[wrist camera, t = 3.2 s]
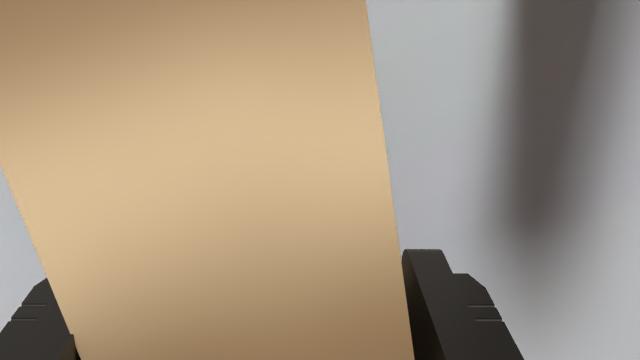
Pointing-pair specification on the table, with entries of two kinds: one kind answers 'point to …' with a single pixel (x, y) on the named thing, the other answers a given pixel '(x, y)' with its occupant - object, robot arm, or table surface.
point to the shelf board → (205, 177)
